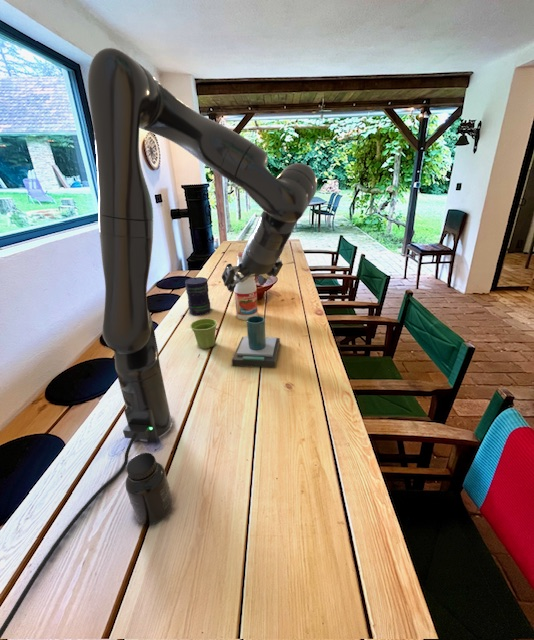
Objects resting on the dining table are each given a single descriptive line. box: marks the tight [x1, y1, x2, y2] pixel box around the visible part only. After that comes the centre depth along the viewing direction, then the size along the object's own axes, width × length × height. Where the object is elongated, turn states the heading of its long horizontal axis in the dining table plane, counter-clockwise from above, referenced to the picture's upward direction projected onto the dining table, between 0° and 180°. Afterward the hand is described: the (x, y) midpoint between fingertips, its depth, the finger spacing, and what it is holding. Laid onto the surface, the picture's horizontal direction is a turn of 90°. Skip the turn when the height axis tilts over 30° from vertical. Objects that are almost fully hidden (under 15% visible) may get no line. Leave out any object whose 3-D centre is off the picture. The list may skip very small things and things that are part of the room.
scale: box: [231, 336, 281, 369], centre depth 111 cm, size 16×14×3 cm
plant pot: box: [190, 318, 218, 350], centre depth 117 cm, size 9×9×9 cm
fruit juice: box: [233, 251, 259, 321], centre depth 136 cm, size 9×9×28 cm
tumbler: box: [246, 315, 267, 350], centre depth 108 cm, size 6×6×10 cm
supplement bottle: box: [125, 452, 173, 526], centre depth 58 cm, size 7×7×12 cm
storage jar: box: [184, 276, 212, 317], centre depth 146 cm, size 10×10×15 cm
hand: (245, 285), depth 83 cm, fingers open, 8 cm apart
